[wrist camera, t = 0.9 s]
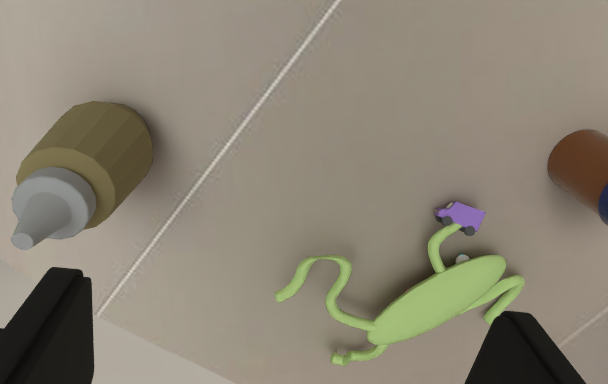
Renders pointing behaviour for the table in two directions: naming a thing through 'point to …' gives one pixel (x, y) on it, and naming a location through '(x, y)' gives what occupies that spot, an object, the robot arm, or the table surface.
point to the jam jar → (581, 166)
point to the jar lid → (603, 205)
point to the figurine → (423, 290)
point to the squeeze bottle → (80, 172)
